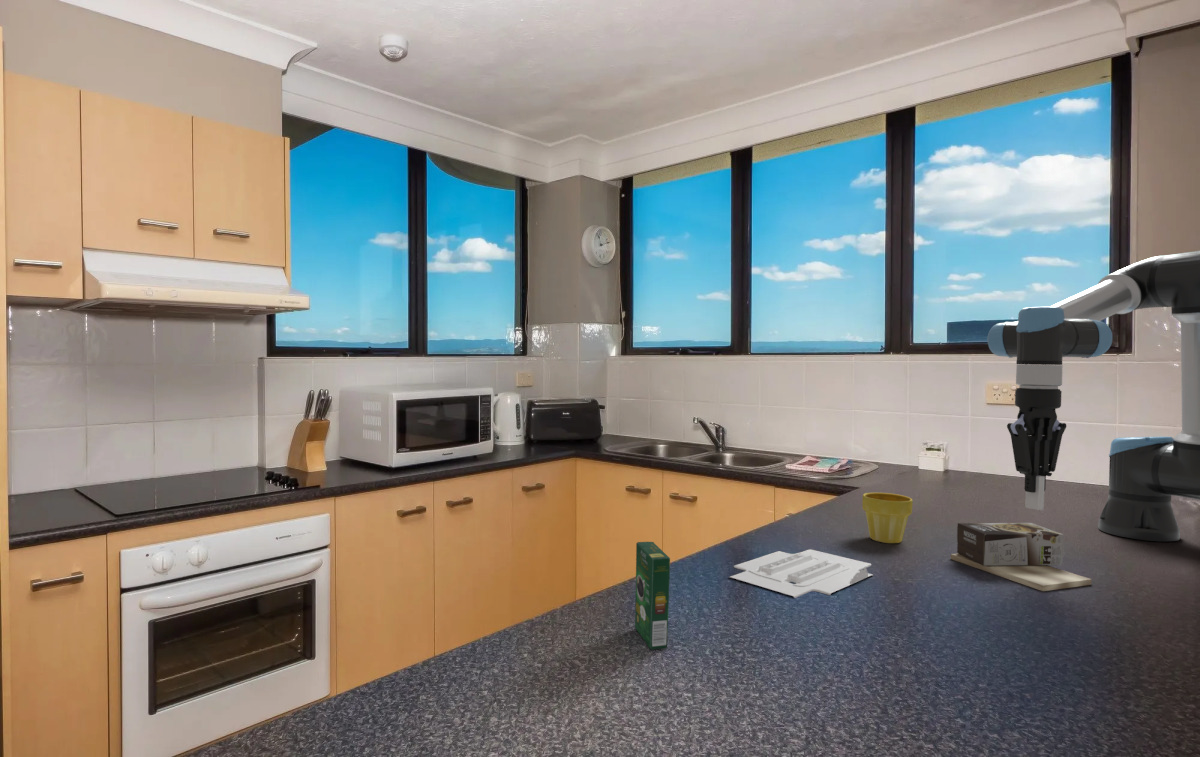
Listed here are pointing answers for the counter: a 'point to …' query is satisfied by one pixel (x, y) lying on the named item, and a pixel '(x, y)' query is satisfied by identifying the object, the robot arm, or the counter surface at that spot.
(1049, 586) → the birch board
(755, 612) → the counter surface
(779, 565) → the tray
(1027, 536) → the coffee box
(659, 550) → the coffee box
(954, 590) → the counter surface
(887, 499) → the plant pot
